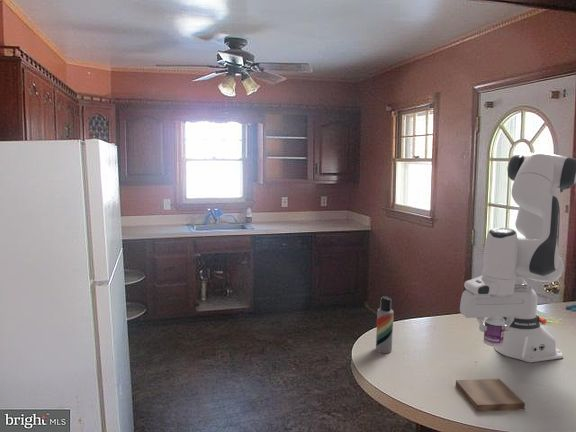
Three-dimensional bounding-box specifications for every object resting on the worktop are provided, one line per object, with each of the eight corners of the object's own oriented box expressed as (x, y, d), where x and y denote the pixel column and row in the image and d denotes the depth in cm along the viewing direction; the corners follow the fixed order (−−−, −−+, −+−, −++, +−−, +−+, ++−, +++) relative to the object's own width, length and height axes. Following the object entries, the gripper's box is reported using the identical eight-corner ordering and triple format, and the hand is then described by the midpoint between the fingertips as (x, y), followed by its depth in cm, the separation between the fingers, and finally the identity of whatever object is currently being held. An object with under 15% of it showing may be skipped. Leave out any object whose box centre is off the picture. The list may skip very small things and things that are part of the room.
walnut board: (498, 384, 150) (499, 378, 150) (524, 409, 136) (524, 403, 136) (455, 386, 149) (456, 380, 148) (477, 411, 135) (477, 405, 135)
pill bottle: (505, 348, 137) (507, 316, 135) (485, 346, 138) (487, 314, 136) (500, 340, 142) (503, 309, 140) (481, 339, 143) (484, 308, 141)
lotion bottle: (374, 346, 176) (376, 294, 173) (389, 346, 177) (391, 294, 174) (378, 353, 171) (380, 300, 168) (393, 353, 171) (396, 299, 168)
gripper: (525, 280, 141) (521, 325, 143) (459, 282, 139) (456, 327, 141) (538, 287, 135) (534, 333, 137) (469, 288, 133) (465, 335, 135)
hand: (494, 330), depth 139 cm, fingers closed on pill bottle, 5 cm apart
